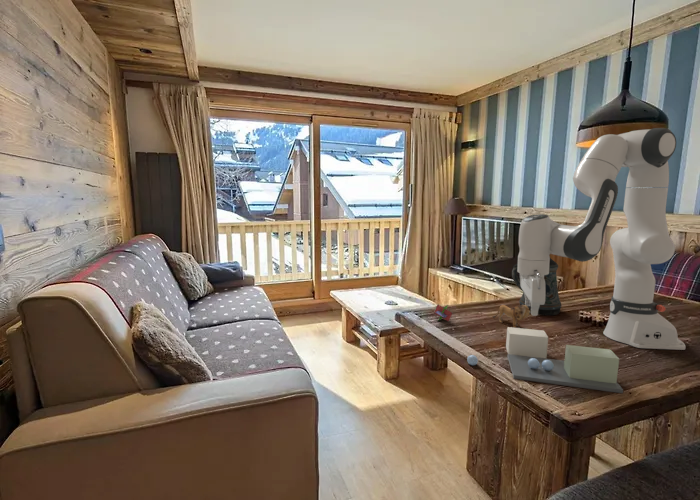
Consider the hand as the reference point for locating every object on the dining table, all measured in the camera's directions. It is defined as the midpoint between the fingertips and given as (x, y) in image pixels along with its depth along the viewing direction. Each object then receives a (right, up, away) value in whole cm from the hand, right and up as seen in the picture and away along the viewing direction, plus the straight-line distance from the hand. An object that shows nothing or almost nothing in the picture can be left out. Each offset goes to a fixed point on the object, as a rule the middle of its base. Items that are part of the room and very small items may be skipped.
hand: (531, 310), depth 115 cm
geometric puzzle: (-20, -10, +32) cm, 39 cm away
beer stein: (+25, -8, +45) cm, 52 cm away
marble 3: (-1, -15, -11) cm, 19 cm away
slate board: (+3, -16, -11) cm, 20 cm away
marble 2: (-4, -15, -10) cm, 19 cm away
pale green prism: (+9, -16, -14) cm, 23 cm away
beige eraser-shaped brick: (-1, -14, +2) cm, 14 cm away
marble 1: (-20, -13, -6) cm, 25 cm away
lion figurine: (+6, -10, +28) cm, 31 cm away
